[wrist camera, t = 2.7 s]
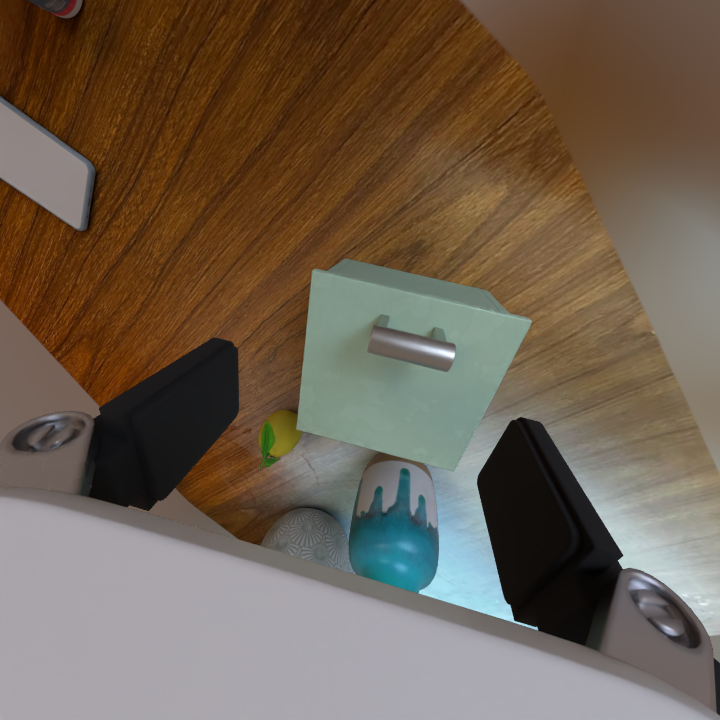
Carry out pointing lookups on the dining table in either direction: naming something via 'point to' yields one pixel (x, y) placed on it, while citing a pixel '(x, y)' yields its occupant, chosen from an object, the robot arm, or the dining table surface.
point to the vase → (395, 524)
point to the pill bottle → (60, 7)
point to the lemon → (278, 436)
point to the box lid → (400, 367)
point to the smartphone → (45, 167)
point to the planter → (310, 538)
